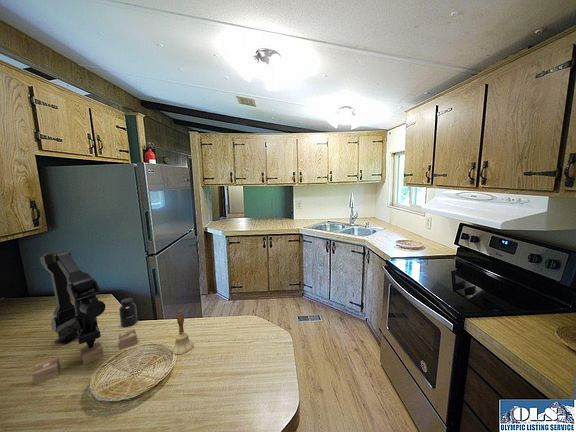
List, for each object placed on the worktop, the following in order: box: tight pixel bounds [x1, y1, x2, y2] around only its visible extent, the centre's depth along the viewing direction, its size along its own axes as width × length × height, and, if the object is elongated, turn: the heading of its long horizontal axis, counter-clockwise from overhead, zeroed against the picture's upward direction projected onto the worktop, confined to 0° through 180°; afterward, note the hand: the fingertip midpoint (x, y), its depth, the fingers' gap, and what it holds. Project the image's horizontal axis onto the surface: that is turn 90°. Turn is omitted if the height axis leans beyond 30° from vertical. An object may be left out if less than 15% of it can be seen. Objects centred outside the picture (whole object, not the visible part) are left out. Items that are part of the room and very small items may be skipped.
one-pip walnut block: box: [32, 356, 61, 385], centre depth 87 cm, size 6×6×4 cm
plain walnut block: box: [79, 341, 104, 366], centre depth 95 cm, size 6×6×4 cm
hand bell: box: [171, 309, 194, 355], centre depth 98 cm, size 8×8×16 cm
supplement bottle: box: [118, 297, 138, 328], centre depth 118 cm, size 7×7×12 cm
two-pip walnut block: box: [118, 328, 138, 350], centre depth 103 cm, size 6×6×4 cm
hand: (90, 347), depth 95 cm, fingers closed
